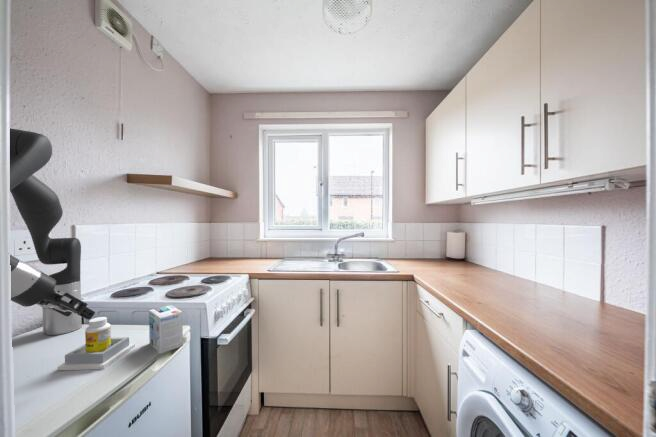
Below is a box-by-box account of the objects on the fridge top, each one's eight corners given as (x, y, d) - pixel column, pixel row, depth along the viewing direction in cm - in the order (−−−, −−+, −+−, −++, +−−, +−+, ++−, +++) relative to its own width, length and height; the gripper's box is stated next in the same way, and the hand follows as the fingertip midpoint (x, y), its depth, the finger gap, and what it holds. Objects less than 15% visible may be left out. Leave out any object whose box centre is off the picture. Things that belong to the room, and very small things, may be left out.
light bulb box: (148, 343, 86) (148, 309, 86) (172, 336, 91) (171, 304, 91) (159, 354, 79) (158, 317, 79) (184, 346, 84) (183, 311, 84)
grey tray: (57, 370, 72) (57, 357, 72) (95, 348, 84) (94, 336, 84) (104, 368, 72) (103, 355, 72) (134, 346, 84) (134, 335, 84)
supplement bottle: (82, 356, 77) (81, 320, 76) (106, 348, 81) (105, 314, 81) (91, 361, 74) (90, 324, 74) (115, 352, 79) (114, 317, 79)
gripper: (55, 270, 63) (109, 304, 74) (18, 267, 67) (75, 299, 78) (24, 300, 58) (87, 331, 69) (-13, 295, 62) (52, 325, 73)
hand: (81, 314), depth 74 cm, fingers open, 8 cm apart
